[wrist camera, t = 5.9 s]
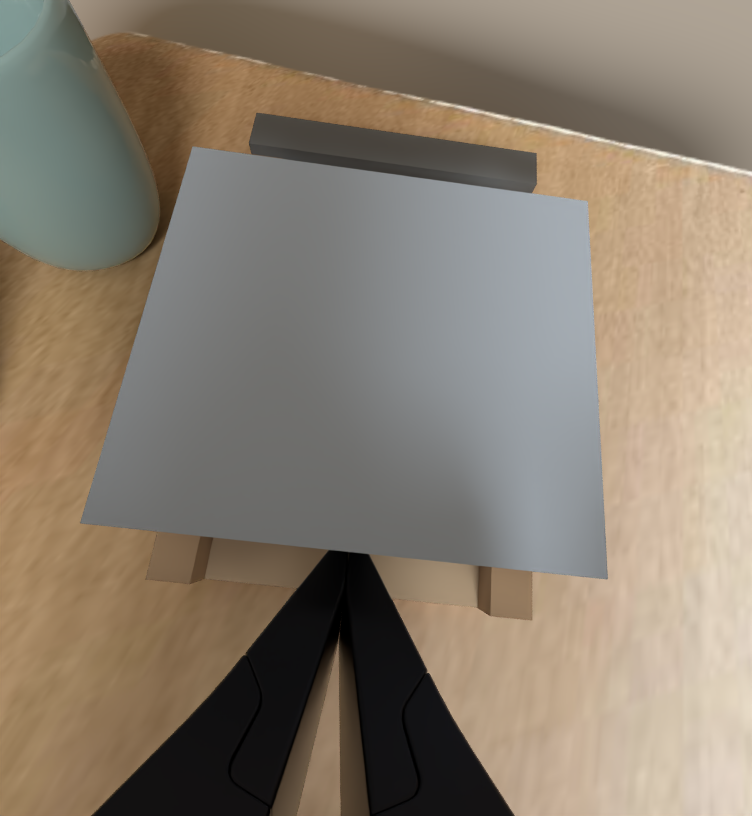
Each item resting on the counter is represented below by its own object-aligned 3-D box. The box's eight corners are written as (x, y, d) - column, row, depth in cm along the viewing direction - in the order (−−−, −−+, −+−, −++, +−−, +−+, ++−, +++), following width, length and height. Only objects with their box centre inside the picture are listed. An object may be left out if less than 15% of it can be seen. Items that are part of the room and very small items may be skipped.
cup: (17, 190, 22) (-240, -72, 12) (165, 158, 23) (35, -103, 14) (38, 314, 20) (-247, 118, 10) (197, 272, 21) (74, 63, 12)
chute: (508, 608, 18) (539, 624, 15) (172, 572, 17) (137, 581, 14) (513, 198, 24) (536, 153, 21) (267, 163, 23) (256, 112, 21)
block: (465, 550, 17) (607, 579, 8) (229, 524, 17) (79, 523, 8) (472, 356, 20) (587, 201, 10) (268, 331, 20) (192, 146, 10)
